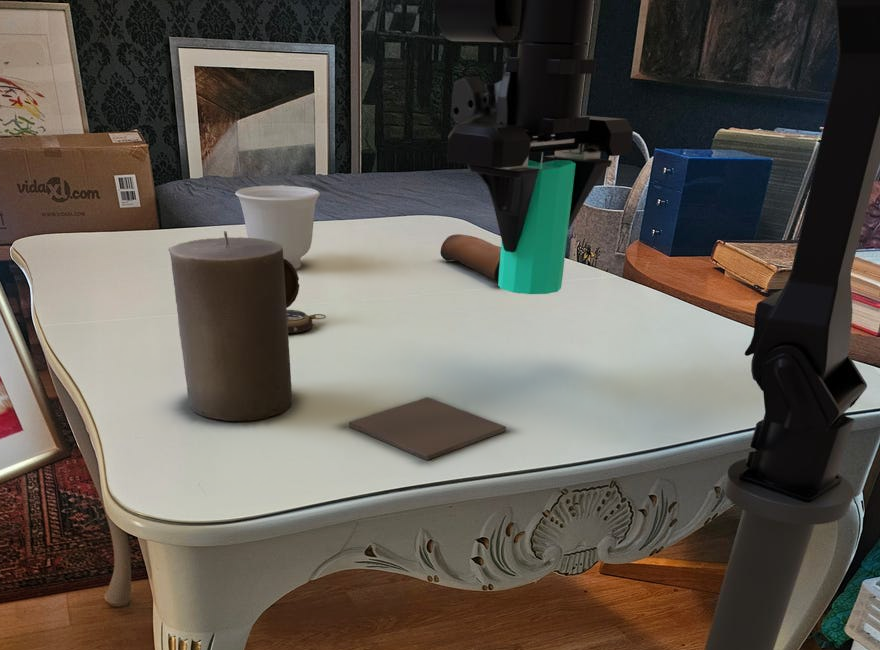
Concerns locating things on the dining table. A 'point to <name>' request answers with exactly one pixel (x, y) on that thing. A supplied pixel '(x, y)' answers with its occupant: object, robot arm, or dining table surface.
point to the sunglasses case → (473, 254)
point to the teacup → (280, 217)
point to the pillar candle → (233, 326)
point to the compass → (295, 318)
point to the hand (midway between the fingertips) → (533, 247)
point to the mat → (427, 427)
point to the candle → (541, 233)
